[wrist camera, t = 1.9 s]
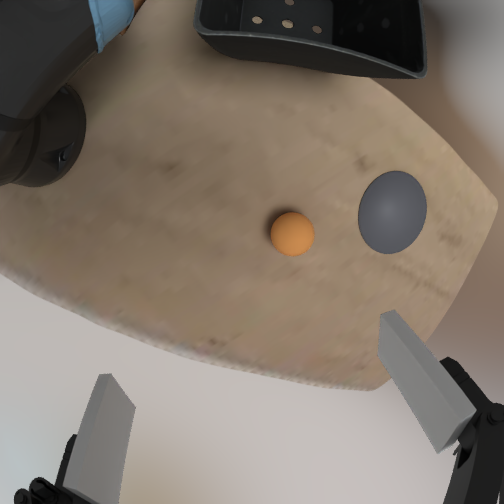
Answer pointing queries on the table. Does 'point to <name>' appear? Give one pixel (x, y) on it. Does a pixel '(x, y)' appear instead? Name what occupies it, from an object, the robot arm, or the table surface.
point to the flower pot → (321, 34)
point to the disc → (392, 212)
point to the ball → (292, 234)
